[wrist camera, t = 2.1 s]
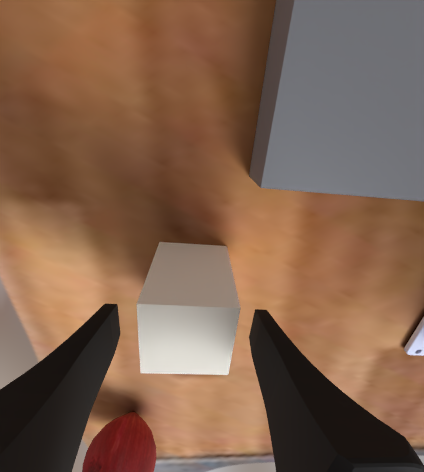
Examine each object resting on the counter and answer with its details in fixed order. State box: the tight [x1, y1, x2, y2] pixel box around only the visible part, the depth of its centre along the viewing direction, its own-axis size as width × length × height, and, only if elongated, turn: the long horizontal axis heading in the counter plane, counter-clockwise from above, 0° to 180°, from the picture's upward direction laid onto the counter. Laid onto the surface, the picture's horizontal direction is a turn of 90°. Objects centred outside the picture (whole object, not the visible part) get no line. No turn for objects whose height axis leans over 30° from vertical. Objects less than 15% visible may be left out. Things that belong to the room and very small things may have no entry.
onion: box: [82, 412, 156, 472], centre depth 19 cm, size 6×6×8 cm
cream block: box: [137, 242, 240, 375], centre depth 14 cm, size 4×4×6 cm
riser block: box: [249, 0, 424, 201], centre depth 10 cm, size 12×12×3 cm
